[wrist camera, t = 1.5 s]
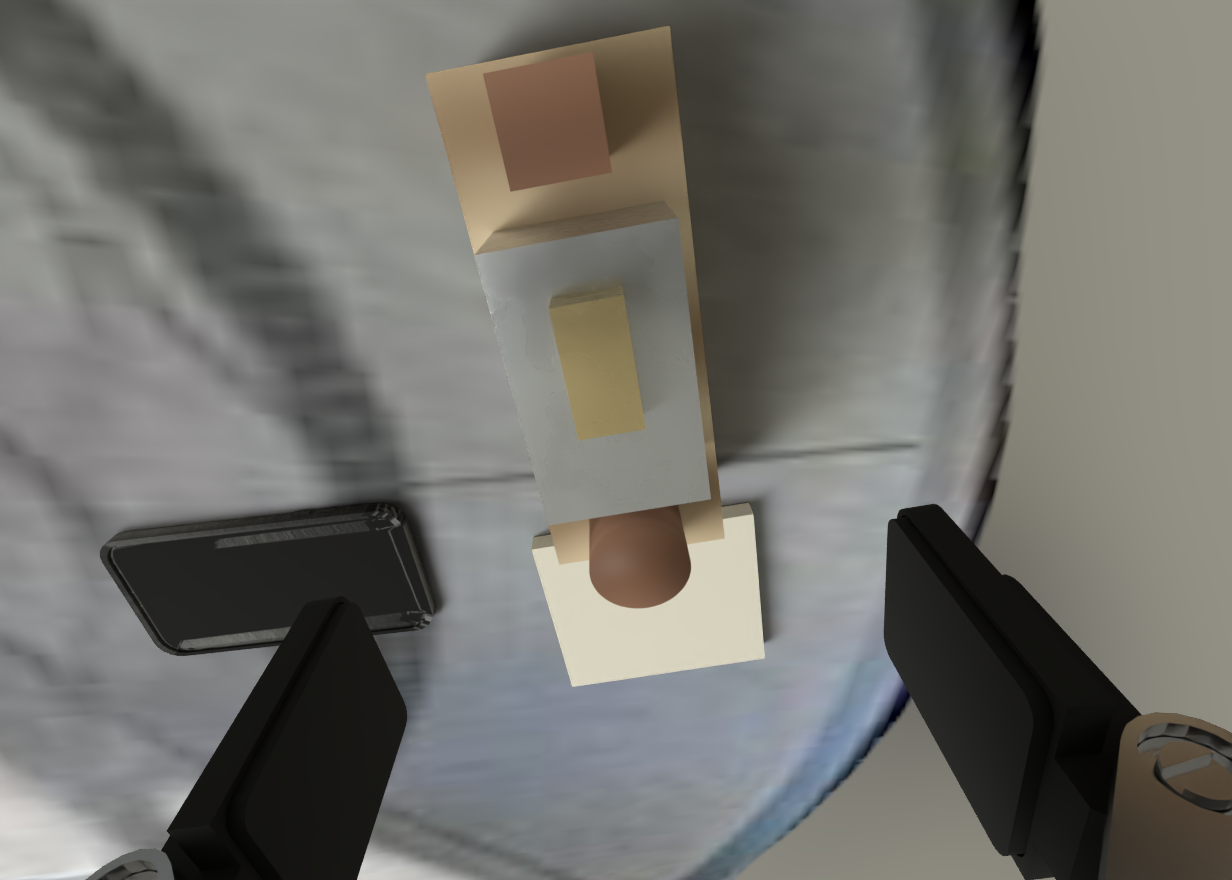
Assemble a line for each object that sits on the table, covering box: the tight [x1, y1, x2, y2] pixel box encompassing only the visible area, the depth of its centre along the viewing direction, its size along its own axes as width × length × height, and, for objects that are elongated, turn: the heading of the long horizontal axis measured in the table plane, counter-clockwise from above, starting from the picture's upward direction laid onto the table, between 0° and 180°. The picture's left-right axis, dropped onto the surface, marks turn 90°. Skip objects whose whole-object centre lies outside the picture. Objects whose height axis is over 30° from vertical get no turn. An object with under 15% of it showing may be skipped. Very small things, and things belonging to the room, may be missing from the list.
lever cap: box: [474, 201, 711, 525], centre depth 20 cm, size 9×6×4 cm, turn 10°
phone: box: [100, 503, 436, 656], centre depth 32 cm, size 8×1×15 cm
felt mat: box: [532, 503, 765, 687], centre depth 33 cm, size 10×11×1 cm
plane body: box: [425, 25, 725, 608], centre depth 22 cm, size 18×7×10 cm, turn 10°
